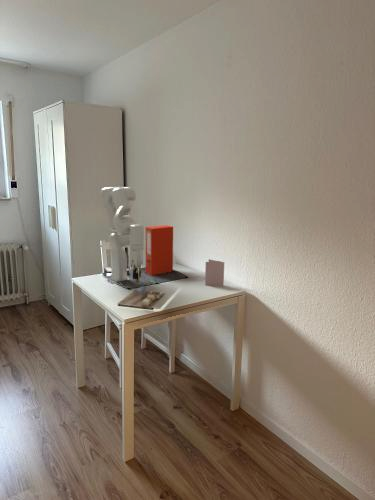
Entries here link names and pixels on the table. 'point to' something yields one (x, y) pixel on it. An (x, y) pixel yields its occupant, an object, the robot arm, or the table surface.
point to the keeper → (142, 290)
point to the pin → (138, 276)
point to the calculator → (109, 270)
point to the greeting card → (214, 273)
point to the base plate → (138, 300)
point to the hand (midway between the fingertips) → (136, 277)
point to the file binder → (159, 249)
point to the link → (151, 297)
